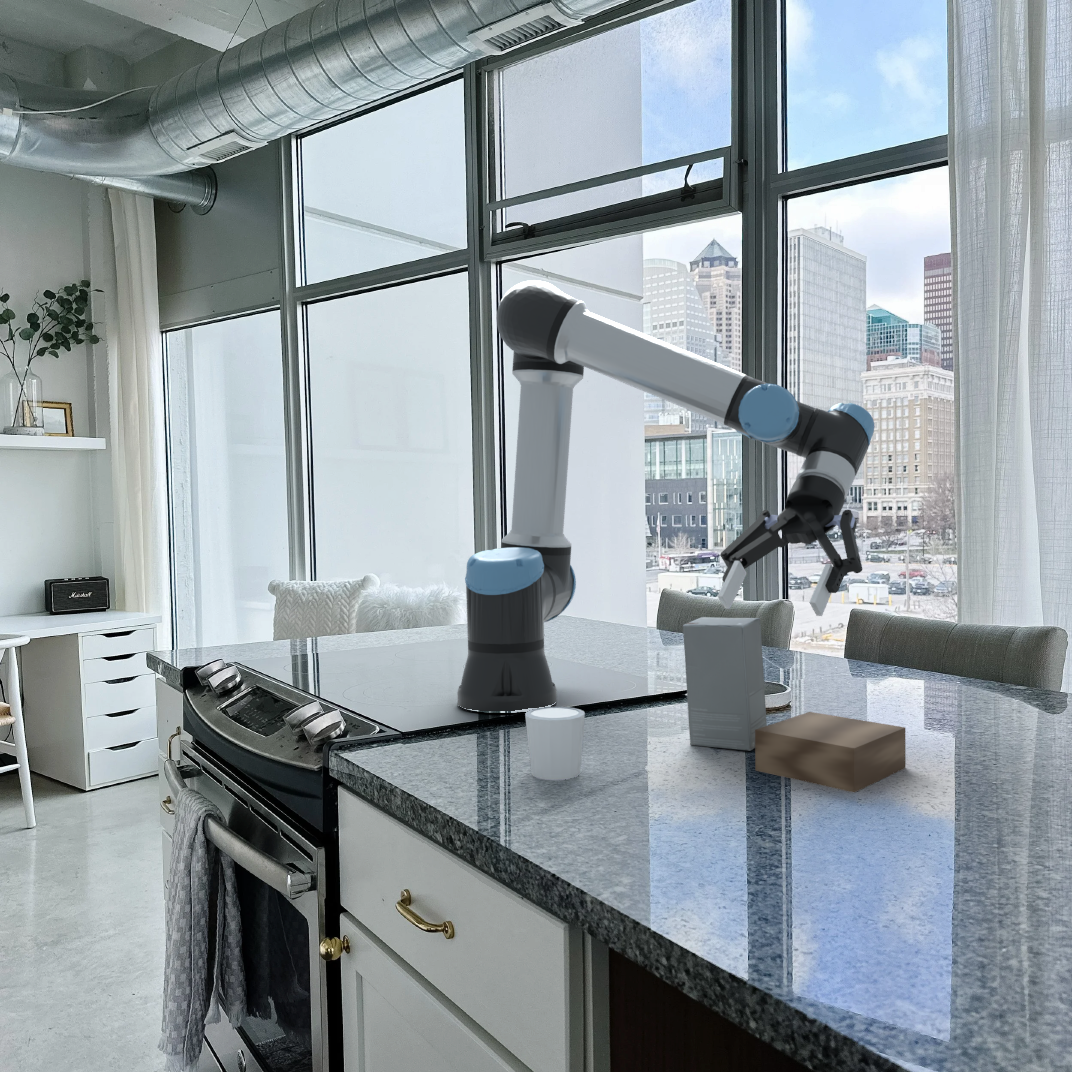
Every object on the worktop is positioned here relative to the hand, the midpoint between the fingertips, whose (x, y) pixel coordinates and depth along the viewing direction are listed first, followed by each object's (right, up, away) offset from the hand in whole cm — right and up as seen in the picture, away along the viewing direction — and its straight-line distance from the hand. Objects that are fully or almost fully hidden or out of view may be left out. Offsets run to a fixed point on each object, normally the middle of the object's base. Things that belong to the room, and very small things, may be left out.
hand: (767, 606), depth 126 cm
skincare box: (-7, -17, -6) cm, 19 cm away
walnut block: (+3, -18, -18) cm, 25 cm away
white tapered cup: (-28, -18, -18) cm, 38 cm away
